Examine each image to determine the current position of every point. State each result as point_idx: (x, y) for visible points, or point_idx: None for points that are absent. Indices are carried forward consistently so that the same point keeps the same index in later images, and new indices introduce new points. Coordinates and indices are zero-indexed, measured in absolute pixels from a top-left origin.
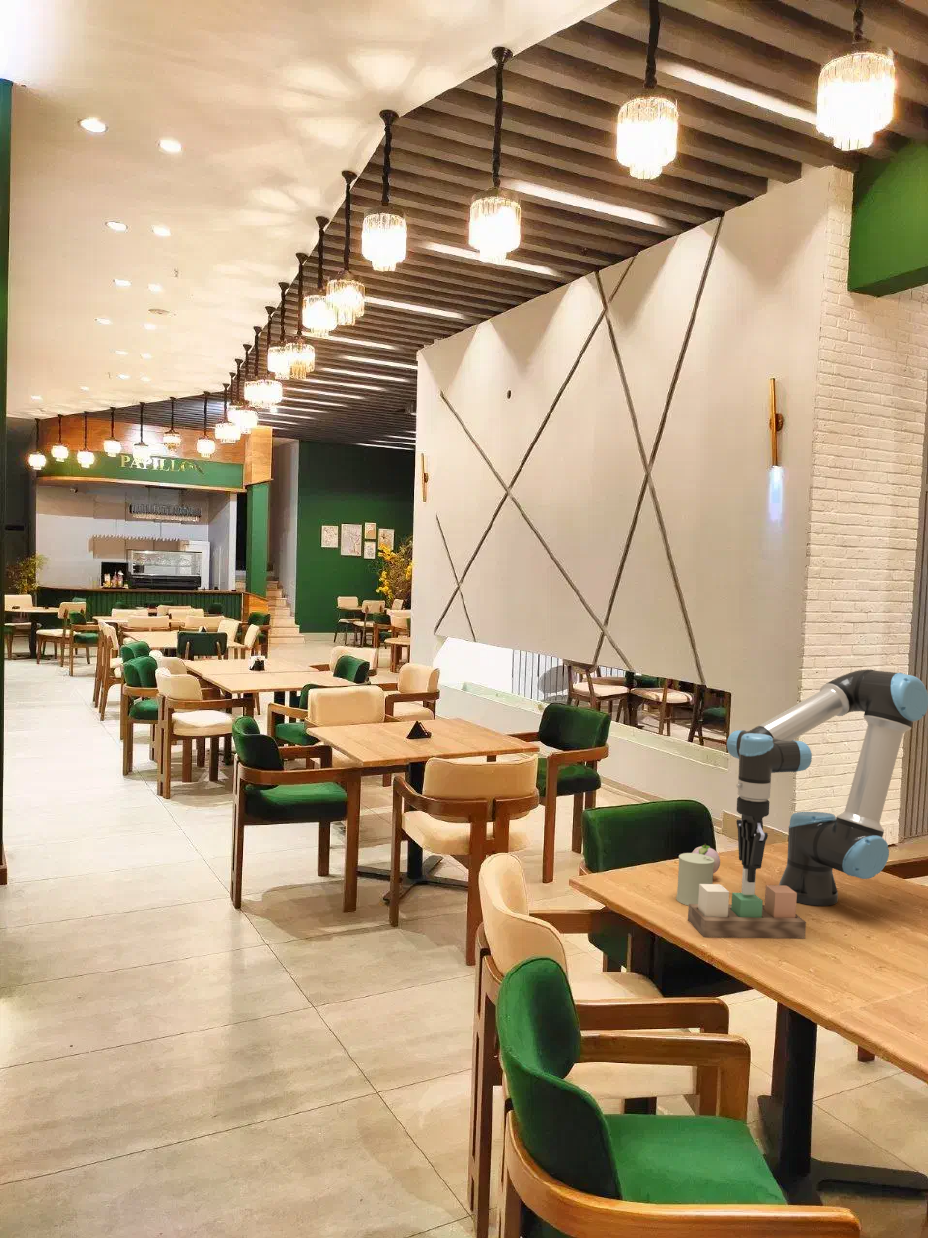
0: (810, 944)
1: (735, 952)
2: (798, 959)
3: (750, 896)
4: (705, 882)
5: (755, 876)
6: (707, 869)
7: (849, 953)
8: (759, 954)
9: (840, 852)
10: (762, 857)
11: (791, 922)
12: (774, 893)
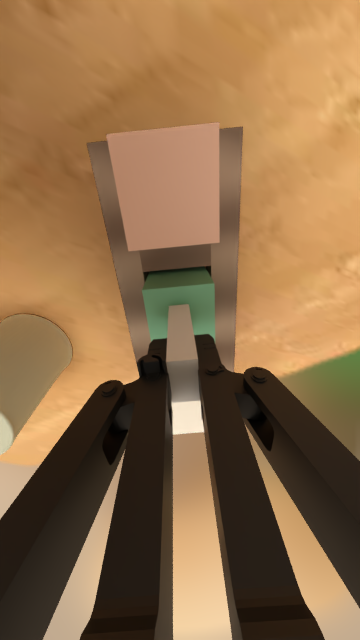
0: (267, 144)
1: (291, 338)
2: (345, 224)
3: None
4: (35, 369)
5: (193, 337)
6: (8, 393)
7: (346, 15)
8: (305, 300)
9: None
10: (328, 432)
11: (239, 187)
12: (209, 242)
